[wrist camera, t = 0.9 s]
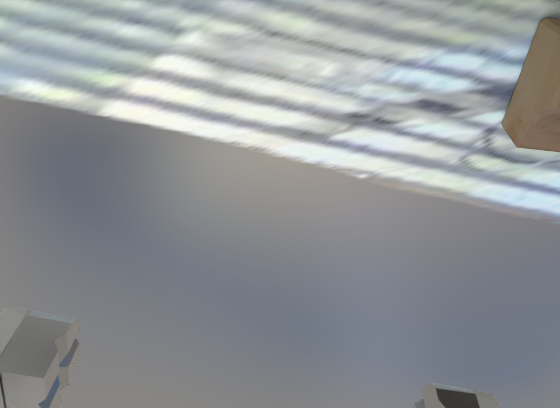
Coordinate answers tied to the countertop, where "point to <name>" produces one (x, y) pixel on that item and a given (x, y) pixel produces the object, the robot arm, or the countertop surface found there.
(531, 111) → the decorative block
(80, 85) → the countertop surface
